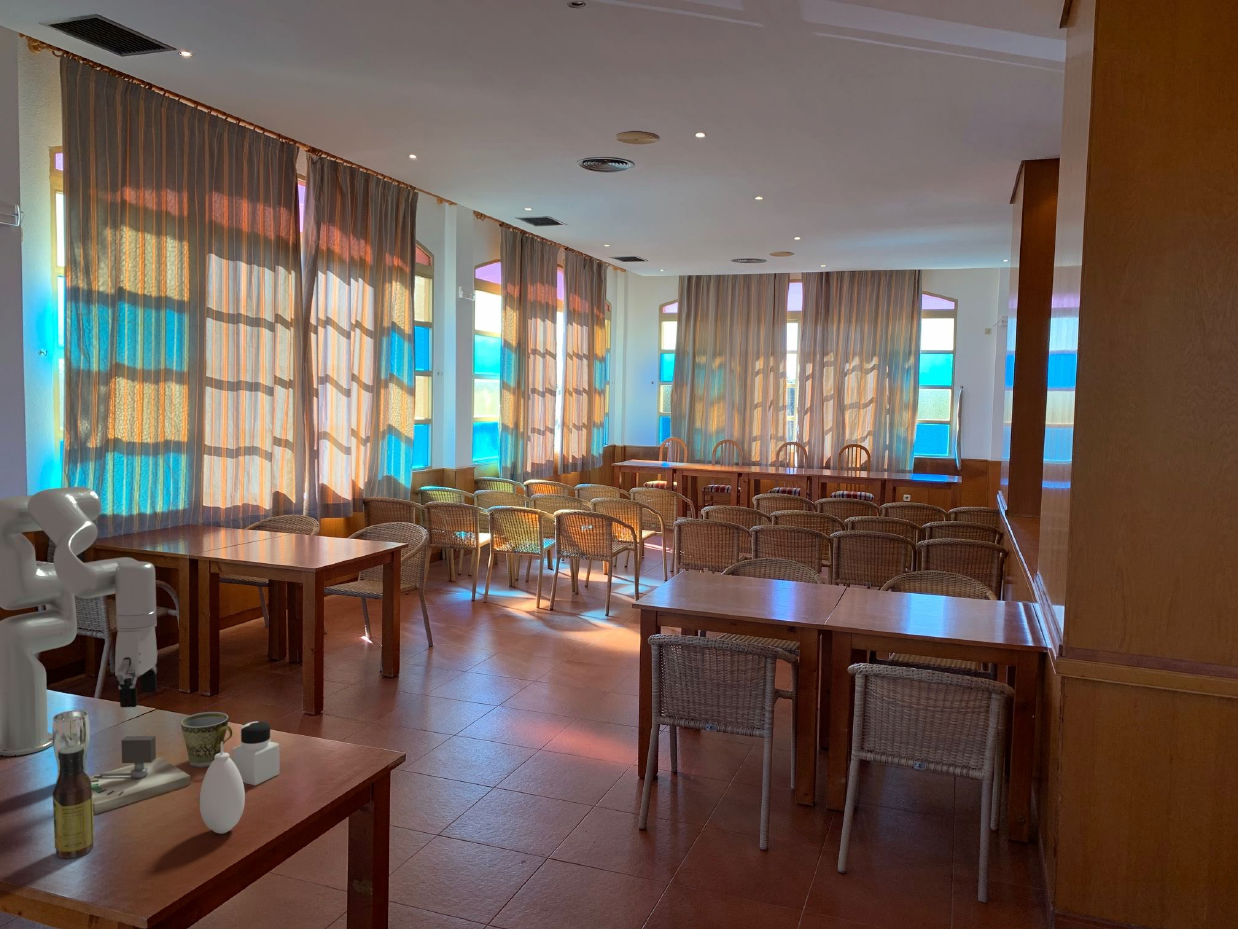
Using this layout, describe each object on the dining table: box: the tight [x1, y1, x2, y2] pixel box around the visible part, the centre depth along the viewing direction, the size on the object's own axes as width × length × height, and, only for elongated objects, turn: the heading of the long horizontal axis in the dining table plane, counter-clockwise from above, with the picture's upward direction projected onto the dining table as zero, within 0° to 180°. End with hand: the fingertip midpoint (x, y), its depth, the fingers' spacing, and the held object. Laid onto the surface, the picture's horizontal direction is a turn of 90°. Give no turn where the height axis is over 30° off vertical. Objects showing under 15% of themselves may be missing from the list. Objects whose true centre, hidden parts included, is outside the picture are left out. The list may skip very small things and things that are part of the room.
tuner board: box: [89, 756, 191, 815], centre depth 194 cm, size 15×19×2 cm
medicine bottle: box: [231, 720, 280, 787], centre depth 201 cm, size 7×7×12 cm
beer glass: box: [51, 709, 91, 784], centre depth 196 cm, size 7×7×15 cm
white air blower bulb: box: [199, 741, 246, 835], centre depth 176 cm, size 8×8×18 cm
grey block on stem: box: [99, 735, 157, 778], centre depth 195 cm, size 3×11×8 cm, turn 95°
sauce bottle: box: [52, 745, 95, 859], centre depth 167 cm, size 7×6×20 cm
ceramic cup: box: [180, 711, 233, 768], centre depth 208 cm, size 13×10×10 cm
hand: (139, 699), depth 194 cm, fingers open, 9 cm apart
